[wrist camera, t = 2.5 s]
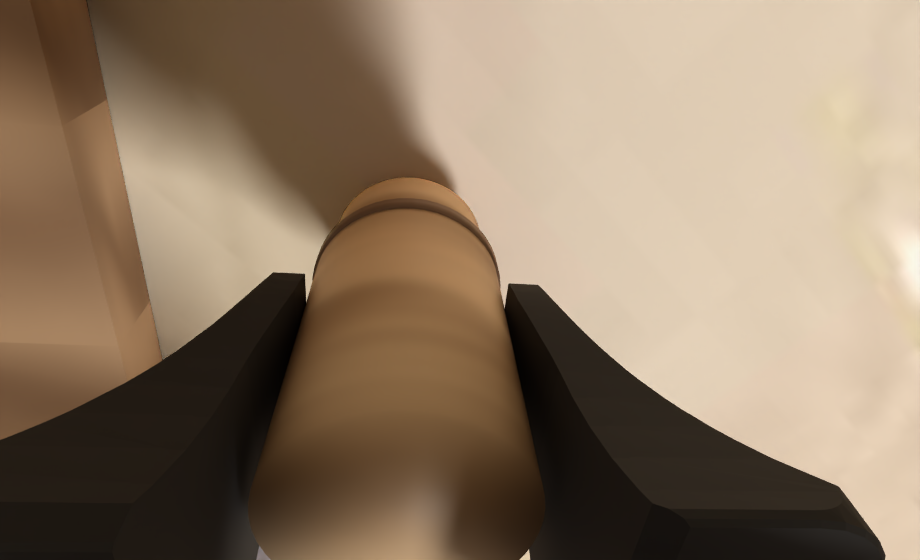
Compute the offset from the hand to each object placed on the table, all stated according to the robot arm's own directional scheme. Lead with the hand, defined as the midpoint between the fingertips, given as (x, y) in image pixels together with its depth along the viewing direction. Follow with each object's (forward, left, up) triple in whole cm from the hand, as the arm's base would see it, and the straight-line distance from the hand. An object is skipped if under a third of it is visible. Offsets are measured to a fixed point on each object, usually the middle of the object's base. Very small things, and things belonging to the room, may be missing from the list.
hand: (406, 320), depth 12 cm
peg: (0, 0, -3) cm, 3 cm away
